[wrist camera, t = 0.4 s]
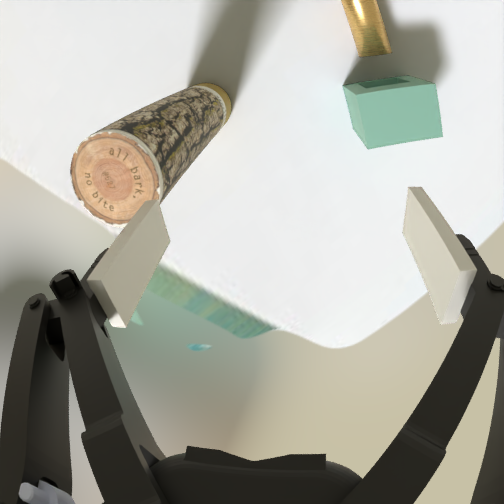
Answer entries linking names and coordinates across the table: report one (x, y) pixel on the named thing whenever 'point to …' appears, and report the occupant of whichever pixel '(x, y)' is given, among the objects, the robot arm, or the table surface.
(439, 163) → the table surface
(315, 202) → the table surface
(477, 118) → the table surface
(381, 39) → the brass sliding bolt
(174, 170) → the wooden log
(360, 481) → the robot arm
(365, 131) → the socket block
